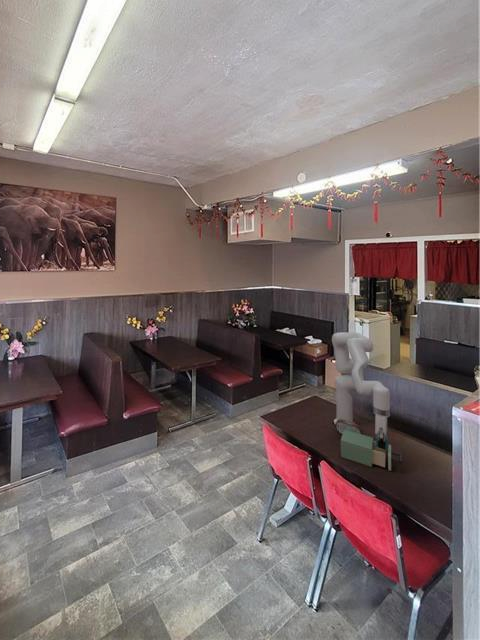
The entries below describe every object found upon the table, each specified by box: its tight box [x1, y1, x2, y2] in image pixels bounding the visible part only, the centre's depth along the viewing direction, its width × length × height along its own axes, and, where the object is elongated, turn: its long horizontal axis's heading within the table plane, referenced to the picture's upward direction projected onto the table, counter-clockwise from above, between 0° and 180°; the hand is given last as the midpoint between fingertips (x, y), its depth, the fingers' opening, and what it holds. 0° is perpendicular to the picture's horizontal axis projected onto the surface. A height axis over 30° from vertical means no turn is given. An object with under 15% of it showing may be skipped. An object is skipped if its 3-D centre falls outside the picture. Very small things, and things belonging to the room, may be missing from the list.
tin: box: [335, 419, 364, 435], centre depth 184 cm, size 15×3×8 cm, turn 47°
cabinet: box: [340, 430, 374, 468], centre depth 166 cm, size 15×13×9 cm
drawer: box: [372, 440, 404, 472], centre depth 159 cm, size 18×11×7 cm, turn 56°
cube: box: [375, 433, 389, 451], centre depth 159 cm, size 5×5×5 cm
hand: (381, 445), depth 159 cm, fingers closed on cube, 4 cm apart
